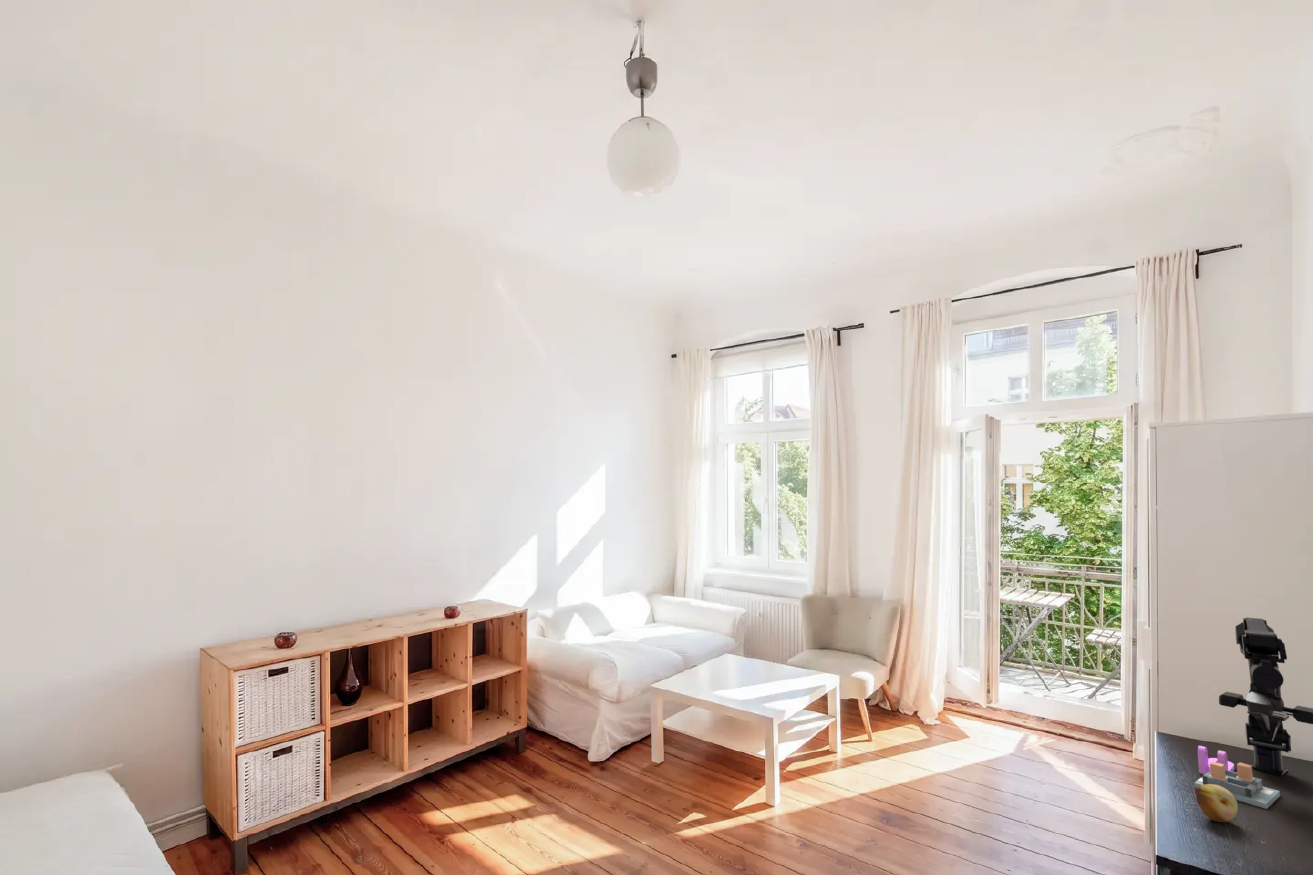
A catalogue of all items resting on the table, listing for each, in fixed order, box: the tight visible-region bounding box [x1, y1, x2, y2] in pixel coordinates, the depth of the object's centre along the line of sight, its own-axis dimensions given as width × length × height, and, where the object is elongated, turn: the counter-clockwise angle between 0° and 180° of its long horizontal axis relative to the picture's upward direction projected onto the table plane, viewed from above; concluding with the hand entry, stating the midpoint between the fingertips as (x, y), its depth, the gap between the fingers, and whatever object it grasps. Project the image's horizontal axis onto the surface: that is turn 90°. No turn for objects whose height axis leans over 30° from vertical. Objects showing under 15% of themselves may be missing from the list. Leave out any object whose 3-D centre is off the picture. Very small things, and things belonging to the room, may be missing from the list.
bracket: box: [1197, 745, 1235, 775], centre depth 177 cm, size 13×6×7 cm, turn 128°
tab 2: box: [1236, 762, 1256, 782], centre depth 164 cm, size 3×3×5 cm
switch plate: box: [1194, 770, 1281, 810], centre depth 164 cm, size 12×14×3 cm
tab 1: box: [1209, 762, 1228, 782], centre depth 165 cm, size 3×3×5 cm
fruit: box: [1194, 784, 1239, 823], centre depth 149 cm, size 8×8×8 cm
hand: (1270, 740), depth 167 cm, fingers closed
